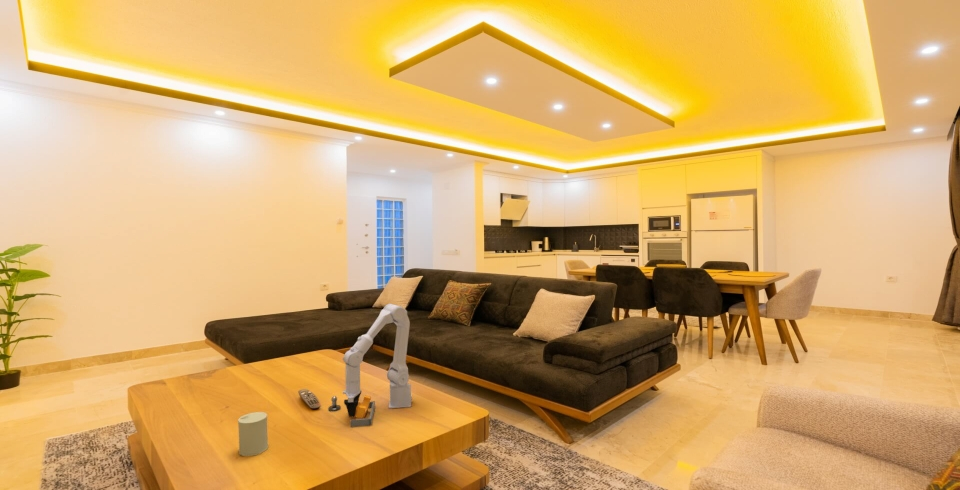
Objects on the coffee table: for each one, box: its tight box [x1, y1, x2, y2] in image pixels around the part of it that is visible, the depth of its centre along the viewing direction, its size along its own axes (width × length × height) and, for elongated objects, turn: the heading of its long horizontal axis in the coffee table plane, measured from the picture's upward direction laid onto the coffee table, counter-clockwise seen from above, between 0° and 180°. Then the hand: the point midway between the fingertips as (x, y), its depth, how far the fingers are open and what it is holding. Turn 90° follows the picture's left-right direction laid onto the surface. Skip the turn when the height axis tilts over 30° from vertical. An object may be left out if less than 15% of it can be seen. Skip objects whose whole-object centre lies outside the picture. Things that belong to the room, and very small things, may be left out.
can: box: [237, 411, 269, 457], centre depth 153 cm, size 9×9×12 cm
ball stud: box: [327, 395, 341, 412], centre depth 187 cm, size 5×5×6 cm
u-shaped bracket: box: [349, 401, 376, 428], centre depth 179 cm, size 8×18×3 cm, turn 9°
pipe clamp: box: [355, 395, 372, 419], centre depth 178 cm, size 12×4×6 cm, turn 3°
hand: (353, 413), depth 178 cm, fingers open, 7 cm apart
